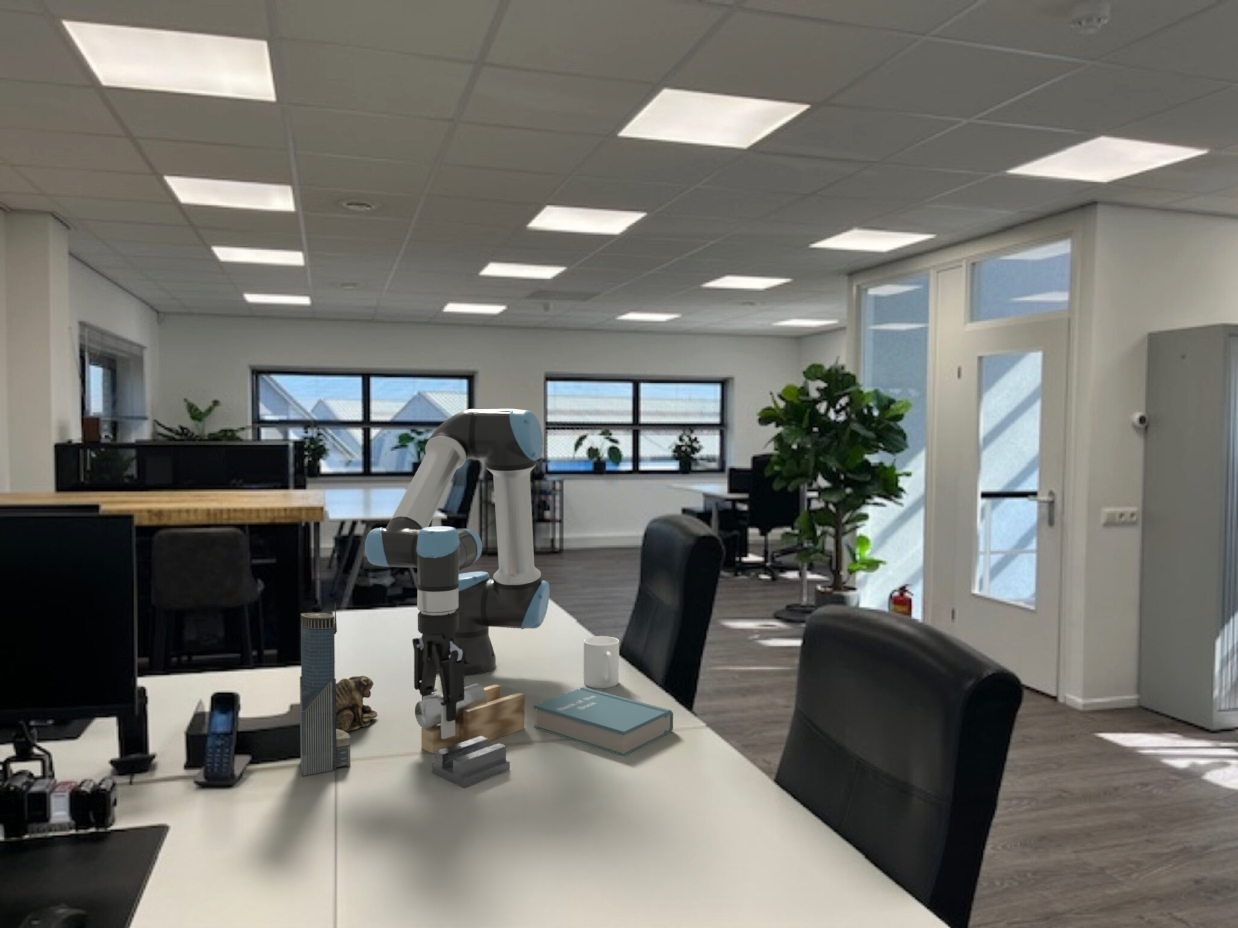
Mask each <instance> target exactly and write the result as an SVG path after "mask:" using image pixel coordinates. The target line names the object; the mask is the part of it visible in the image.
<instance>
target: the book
mask: <svg viewBox="0 0 1238 928" xmlns="http://www.w3.org/2000/svg"><path fill="white" fill-rule="evenodd" d="M533 706H534V707H533V709H534V710H535V711H536V712H535V713H536V715H535V716H536V721H535V722H536V723H535V724H536V725H534V726H533V728H534V729H538V730H541V731H543V732H547V733H550V734H553V735H555V736H559V737H563V738H566V739H569V740H572V741H575V742H577V743H581V744H585V745H588V746H591V747H593V748H597V749H600V750H603V751H606V752H610V753H613V754H617V755H619V756H622V757H625V756H627V755H629V754H631V753H633V752H634V751H637V750H639V749H641V748H643V747H644V746H647V745H649V744H651V743H653V742H654V741H657V740H658V739H661V738H662V737H664V736H666V735H668V734H671V733H672V732H673V730H674V712H673V711H672V710H671V709H669V708H664V707H661V706H657V705H653V704H650V703H647V702H641V701H638V700H634V699H630V698H627V697H623V696H618V695H615V694H611V693H607V692H604V691H600V690H596V689H594V688H590V687H584V686H582V687H580V688H576V689H574V690H571V691H569V692H566V693H562V694H561V695H558V696H555V697H552V698H551V699H547V700H545V701H542V702H539V703H537V704H534V705H533Z"/></svg>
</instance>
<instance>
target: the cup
mask: <svg viewBox="0 0 1238 928" xmlns="http://www.w3.org/2000/svg"><path fill="white" fill-rule="evenodd" d="M582 677H583V683H584V685H586V686H587V687H588V688H591V689H609V688H614V687H615V686H616V687H617V685H618V684H619V679H620V678H619V677H620V640H619V638H617V637H612V636H605V635H599V636H598V635H597V636H595V635H594V636H589V637H587V638H585V639H583V676H582Z"/></svg>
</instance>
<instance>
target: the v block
mask: <svg viewBox="0 0 1238 928" xmlns="http://www.w3.org/2000/svg"><path fill="white" fill-rule="evenodd" d="M434 756H435V757H434V758H435V762H434V763H432V764H431V773H432V774H435V775H436V776H438V777H441V778H442V779H445V780H448V781H449V782H451V783H453V784H455V785H457V786H460V787H461V788H467V787H469V786H473V785H475V784H477V783H480V782H483V781H485V780H487V779H491V778H493V777H495V776H498V775H501V774H502V773H506V772H507V771H510V770H511V769H510V768H511V762H510V760H507V746H506V745H504V744H503V743H499V742H498V743H495V744H493V745H490V746H489V741H488V738H485V737H483V736H479V737H476V738H473V739H470V740H467V741H464V742H461V743H459V744H456V745H453V746H450V747H447V748H444V749H441V750H438V751H435V753H434Z"/></svg>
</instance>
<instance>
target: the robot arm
mask: <svg viewBox="0 0 1238 928" xmlns="http://www.w3.org/2000/svg"><path fill="white" fill-rule="evenodd" d="M543 446H544V437H543V431H542V427H541V423H540V420H539V418H538V417H537V415H536V413H534V412H533V411H532V410H531V411H530V410H528V409H517V408H489V409H487V408H483V409H482V408H481V409H479V408H469V409H465V410H461V411H460V412H457V413H455V414H454V415H452V416H450V417H449V418H447V419H446V420H445V421H443V423H441V424H440V425H439V426H437V428H436V429H435V430H434V431H433V432H432V433H431V435H430V437H429V439H428V440H427V442H426V444H425V446H424V453H425V455H424V457H423V459H422V461H421V462H420V465H419V466H418V468H417V471H416V472H415V474H414V476H413V478H412V480H411V481H410V483H409V485H408V487H407V488H406V491H405V492H404V494H403V496H402V498H401V500H400V502H399V504H398V506H397V507H396V509H395V511H394V513H393V515H392V517H391V519H390V520H389V522H388V523H387V526H385V527H375V528H373V529H372V530H370V531H369V532H368V534H367V536H366V539H365V543H364V551H365V552H364V553H365V556H366V560H367V561H368V562H369V563H370V564H371V565H373V566H380V567H387V568H393V567H394V568H417V599H416V600H417V602H416V603H417V604H416V606H417V607H416V608H417V610H418V611H419V612H417V631H418V633H420V634H422V635H421V636H418V637H415V638H414V637H413V638H412V640H411V641H412V647H413V651H414V652H413V665H414V666H413V669H414V670H413V688H414V690H415V691H417V690H418V691H419V694H420V695H421V701H422V700H426V699H429V698H432V697H435V696H438V694H437V693H436V692H437V691H438V689H437V688H436V687H435V686H436V680H437V674H438V673H439V674H438V675H439V678H440V679H439V680H440V685H441V687H440V688H441V692H442V694H443V700H444V702H441V739H446V738H449V737H452V736H455V720H456V703H457V702H460V701H463V700H464V687H465V676H468V675H477V674H481V673H486V672H489V671H491V670H493V669H494V668H495V667H496V666H497V663H496V661H497V659H496V658H497V657H496V653H495V651H494V646H493V644H492V641H491V639H490V638H491V637H490V634H489V629H490V628H489V627H491V628H507V629H521V630H525V629H538V628H539V627H540V626H542V624H543V622H544V620H545V618H546V614H547V611H548V607H549V601H550V591H551V589H550V583H549V582H548V581H546V580H542V572H541V570H540V569H538V568H537V567H536V566H535V554H534V534H533V532H534V531H533V514H532V512H533V509H532V495H531V494H532V493H531V492H532V491H531V489H532V488H531V472H532V470H533V469H535V467H536V466H537V465H536V461H537V460H540V459H541V458H542V455H543V451H544V449H543V448H544V447H543ZM471 459H478V460H479V459H480V460H481V459H484V460H485V464H486V465H485V466H486V470H488V471H489V472H490V473H491V474H492V475H493V477H492V479H493V493H494V495H493V496H494V505H495V506H494V507H495V508H494V509H495V526H496V541H497V558H498V559H497V561H498V569H497V571H495V572H494V573H493V576H492V578H490V574H489V572H487V571H470V572H463V573H460V571H462V570H463V569H465V568H466V569H467V567H468V568H469V567H471V566H472V565H473V564H474V563H475V562H476V561H478V560H479V558H480V557H481V555H482V552H483V542H482V540H481V537H480V535H478V533H477V532H475V531H474V530H473V529H471V528H470V529H469V528H456V527H454V526H453V527H452V526H444V525H441V526H440V525H439V526H430V524H431V522H432V520H433V518H434V516H435V515H436V514H435V513H436V512H437V510H438V508H439V505H440V503H441V501H442V500H443V498H444V495H445V493H446V492H447V489H448V487H449V485H450V483H451V482H452V479H453V477H454V475H455V473H456V471H457V470H459V469H461V467H463V466H464V464H465V462H466V461H467V460H471ZM449 696H450V697H449Z"/></svg>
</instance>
